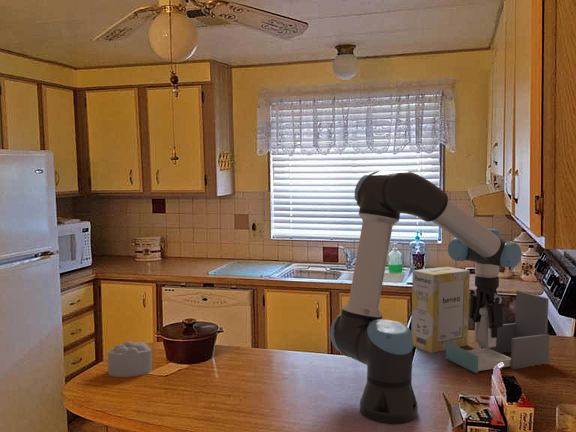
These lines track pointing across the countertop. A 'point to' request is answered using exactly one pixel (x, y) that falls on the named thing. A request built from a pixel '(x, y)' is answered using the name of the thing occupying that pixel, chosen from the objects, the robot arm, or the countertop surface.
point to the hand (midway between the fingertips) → (485, 343)
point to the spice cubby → (526, 332)
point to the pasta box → (440, 308)
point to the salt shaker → (483, 328)
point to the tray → (475, 358)
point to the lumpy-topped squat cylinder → (129, 359)
